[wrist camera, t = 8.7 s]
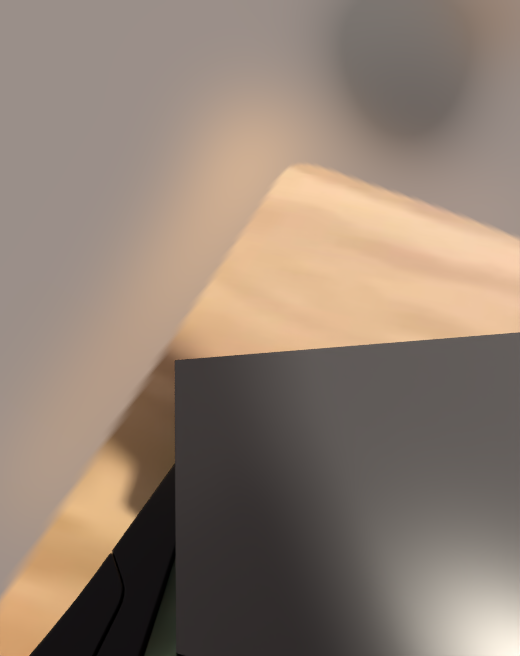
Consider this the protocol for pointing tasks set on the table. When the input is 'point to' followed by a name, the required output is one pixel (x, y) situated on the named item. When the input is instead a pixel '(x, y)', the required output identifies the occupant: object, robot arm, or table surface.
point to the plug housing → (350, 500)
